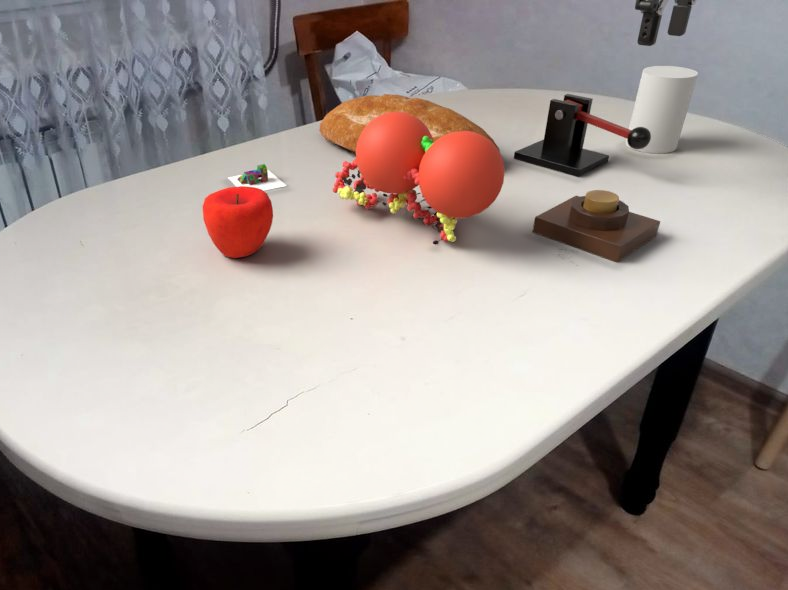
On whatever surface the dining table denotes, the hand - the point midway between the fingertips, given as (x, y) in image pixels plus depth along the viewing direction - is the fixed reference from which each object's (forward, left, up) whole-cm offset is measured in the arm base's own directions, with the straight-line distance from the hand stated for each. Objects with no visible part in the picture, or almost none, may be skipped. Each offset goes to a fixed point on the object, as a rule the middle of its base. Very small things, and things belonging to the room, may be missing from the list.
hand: (661, 40), depth 90 cm
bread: (+33, +15, -20) cm, 41 cm away
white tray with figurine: (+40, +42, -20) cm, 61 cm away
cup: (+4, -16, -20) cm, 26 cm away
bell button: (-7, +22, -16) cm, 28 cm away
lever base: (+11, +1, -20) cm, 23 cm away
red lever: (+6, +1, -14) cm, 15 cm away
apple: (+22, +58, -20) cm, 65 cm away
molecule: (+12, +37, -20) cm, 43 cm away
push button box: (-7, +22, -20) cm, 30 cm away
